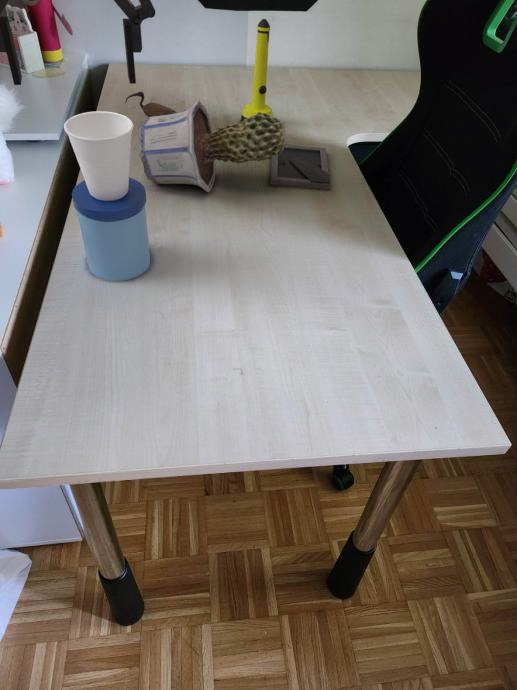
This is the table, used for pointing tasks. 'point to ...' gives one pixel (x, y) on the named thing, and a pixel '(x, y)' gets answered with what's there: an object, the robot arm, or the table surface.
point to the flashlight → (259, 74)
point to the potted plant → (203, 145)
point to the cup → (102, 151)
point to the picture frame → (300, 168)
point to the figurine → (152, 107)
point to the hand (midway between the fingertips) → (76, 80)
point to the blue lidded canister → (114, 232)
